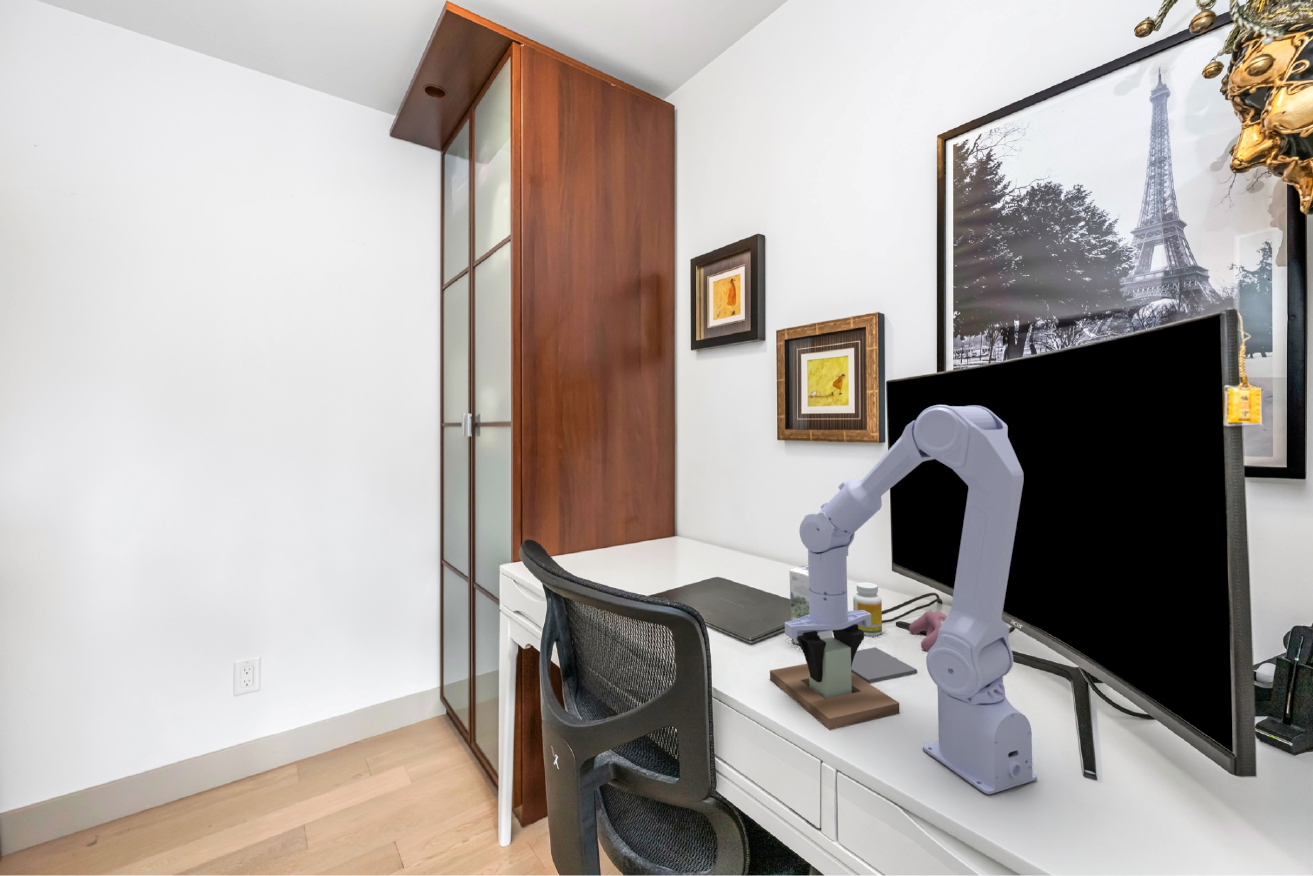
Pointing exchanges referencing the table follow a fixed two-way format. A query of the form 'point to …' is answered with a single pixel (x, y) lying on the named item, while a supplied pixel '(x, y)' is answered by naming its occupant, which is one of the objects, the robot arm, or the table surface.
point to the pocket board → (835, 698)
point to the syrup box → (801, 597)
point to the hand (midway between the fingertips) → (829, 676)
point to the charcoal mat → (878, 666)
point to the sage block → (834, 670)
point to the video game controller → (928, 627)
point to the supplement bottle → (869, 607)
